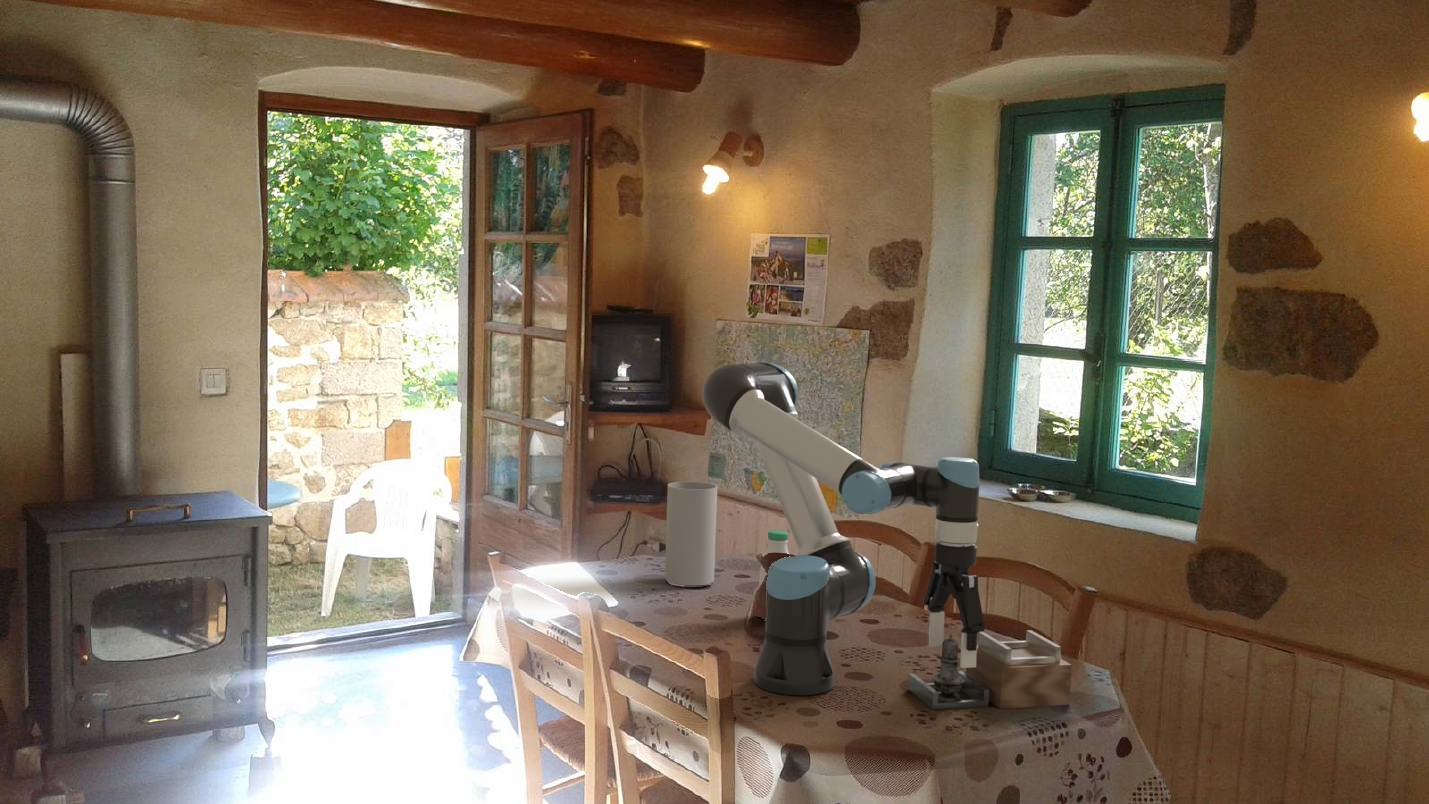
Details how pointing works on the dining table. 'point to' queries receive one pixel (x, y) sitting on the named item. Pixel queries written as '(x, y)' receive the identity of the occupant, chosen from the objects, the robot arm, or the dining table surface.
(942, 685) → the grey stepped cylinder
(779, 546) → the milk bottle
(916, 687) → the low socket
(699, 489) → the cylinder vase
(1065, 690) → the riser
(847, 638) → the dining table surface
